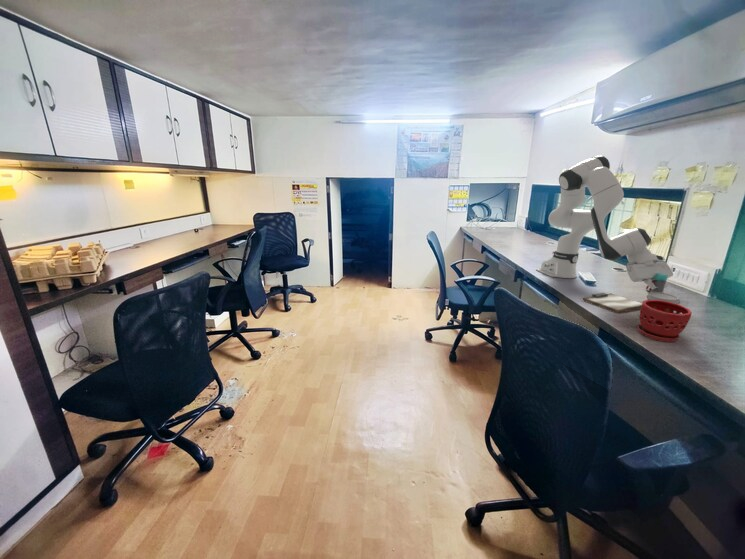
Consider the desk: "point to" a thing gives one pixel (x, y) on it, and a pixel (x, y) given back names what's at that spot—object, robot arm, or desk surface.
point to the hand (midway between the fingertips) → (659, 288)
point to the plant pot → (662, 320)
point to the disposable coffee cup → (662, 298)
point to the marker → (659, 282)
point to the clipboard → (613, 302)
